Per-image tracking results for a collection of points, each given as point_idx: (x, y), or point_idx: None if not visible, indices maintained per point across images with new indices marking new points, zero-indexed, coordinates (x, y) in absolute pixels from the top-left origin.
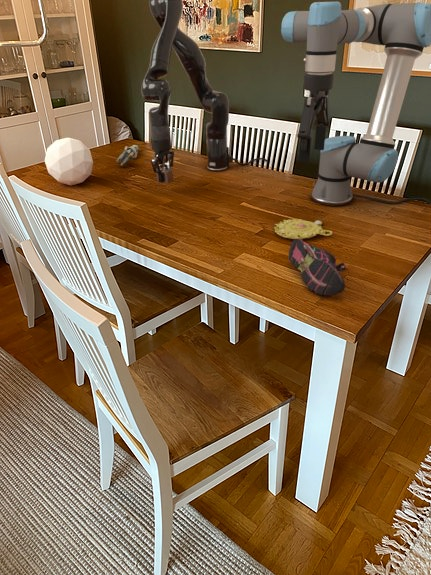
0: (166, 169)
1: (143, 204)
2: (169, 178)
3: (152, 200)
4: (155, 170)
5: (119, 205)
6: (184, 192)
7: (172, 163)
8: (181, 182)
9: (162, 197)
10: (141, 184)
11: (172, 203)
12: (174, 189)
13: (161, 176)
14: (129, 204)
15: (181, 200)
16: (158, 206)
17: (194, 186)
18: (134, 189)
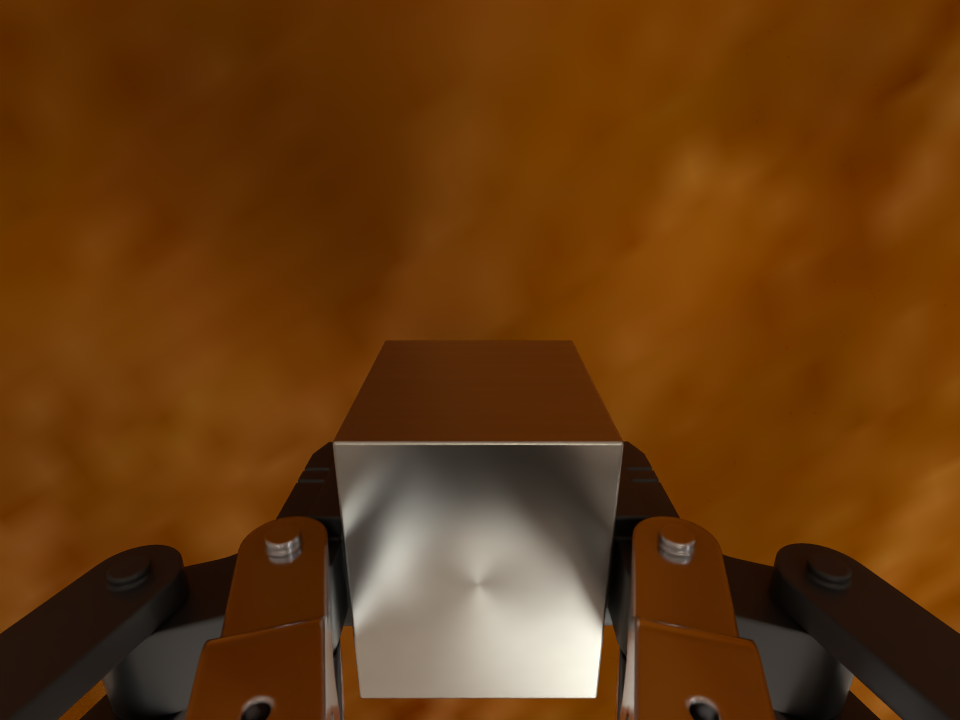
0: (393, 573)
1: (888, 420)
2: (511, 367)
3: (746, 394)
4: (843, 705)
5: (950, 610)
6: (342, 154)
7: (82, 608)
8: (56, 391)
9: (620, 337)
10: (358, 713)
11: (789, 88)
12: (312, 344)
13: (660, 500)
14: (910, 545)
15: (644, 17)
16: (928, 218)
17: (62, 140)
18: (507, 700)
